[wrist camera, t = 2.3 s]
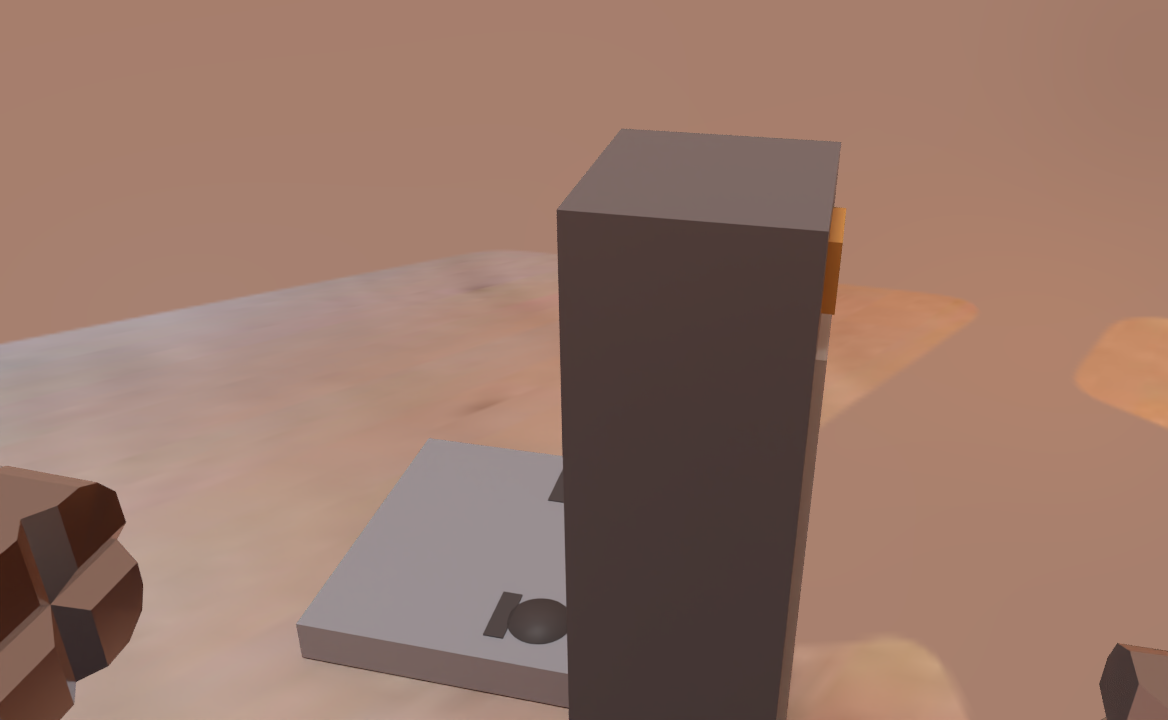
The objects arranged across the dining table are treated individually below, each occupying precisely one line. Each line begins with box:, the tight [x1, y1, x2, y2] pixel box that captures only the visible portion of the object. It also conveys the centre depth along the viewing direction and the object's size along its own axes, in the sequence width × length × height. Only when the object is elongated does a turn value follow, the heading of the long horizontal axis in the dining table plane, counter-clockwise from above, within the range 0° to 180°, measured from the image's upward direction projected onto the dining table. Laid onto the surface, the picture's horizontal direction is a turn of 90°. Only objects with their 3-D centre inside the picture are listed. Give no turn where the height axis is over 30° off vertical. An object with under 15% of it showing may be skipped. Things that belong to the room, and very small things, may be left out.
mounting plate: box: [296, 438, 569, 708], centre depth 39 cm, size 16×12×2 cm
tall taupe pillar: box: [557, 129, 846, 720], centre depth 24 cm, size 5×5×20 cm
